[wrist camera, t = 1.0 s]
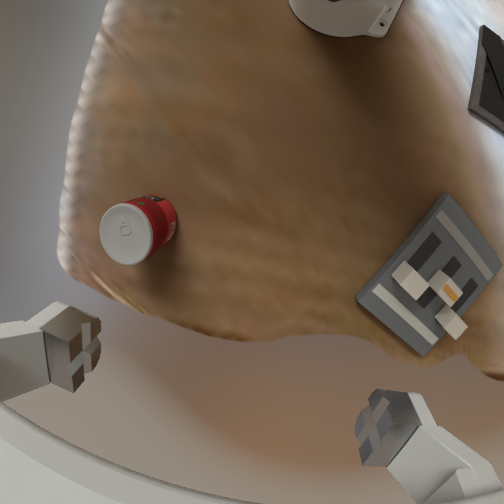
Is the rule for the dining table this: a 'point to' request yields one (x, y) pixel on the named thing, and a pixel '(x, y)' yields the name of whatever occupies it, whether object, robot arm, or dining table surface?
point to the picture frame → (489, 79)
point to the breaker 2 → (451, 322)
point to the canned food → (137, 228)
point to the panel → (432, 274)
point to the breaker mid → (445, 287)
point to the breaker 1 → (410, 280)
